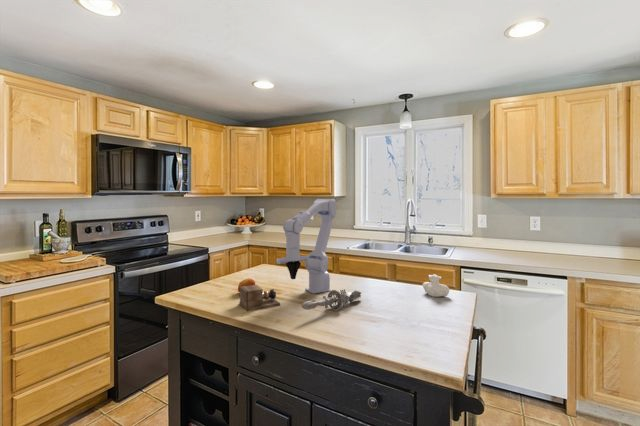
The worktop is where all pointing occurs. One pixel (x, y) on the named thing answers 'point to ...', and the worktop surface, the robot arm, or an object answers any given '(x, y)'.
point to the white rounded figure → (435, 287)
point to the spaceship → (333, 300)
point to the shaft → (269, 294)
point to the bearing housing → (255, 298)
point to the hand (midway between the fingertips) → (293, 278)
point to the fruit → (246, 283)
